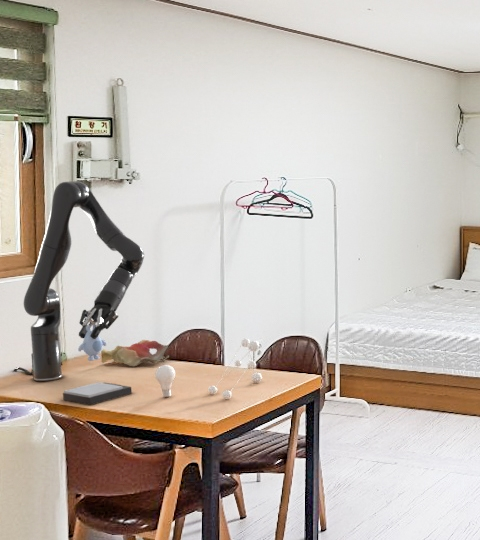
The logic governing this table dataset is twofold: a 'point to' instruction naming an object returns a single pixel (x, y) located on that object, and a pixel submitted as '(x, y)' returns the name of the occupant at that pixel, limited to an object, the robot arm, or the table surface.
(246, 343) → the molecule model
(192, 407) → the table surface
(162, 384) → the lightbulb
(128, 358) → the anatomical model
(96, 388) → the scale
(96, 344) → the toy figure
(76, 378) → the table surface
